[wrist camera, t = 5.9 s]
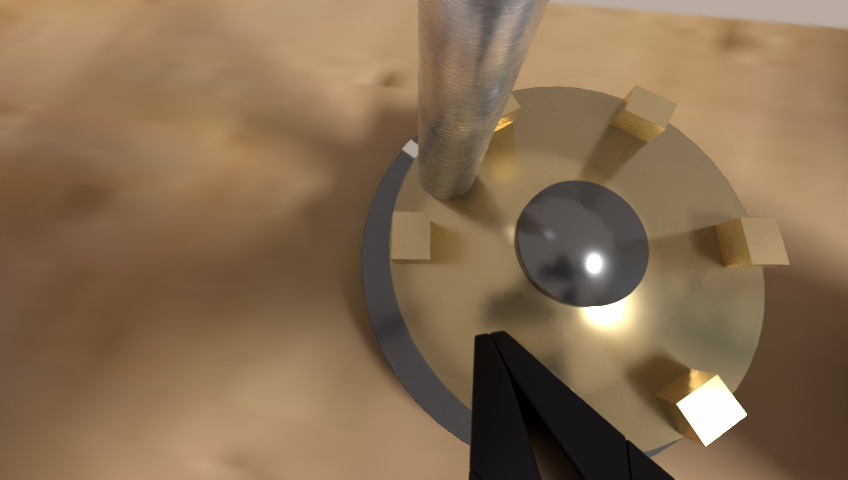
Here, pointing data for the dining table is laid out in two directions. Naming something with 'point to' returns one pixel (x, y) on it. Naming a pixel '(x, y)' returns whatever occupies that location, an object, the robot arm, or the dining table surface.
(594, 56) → the dining table surface
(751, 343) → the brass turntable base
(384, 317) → the dark gray round housing
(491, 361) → the robot arm
